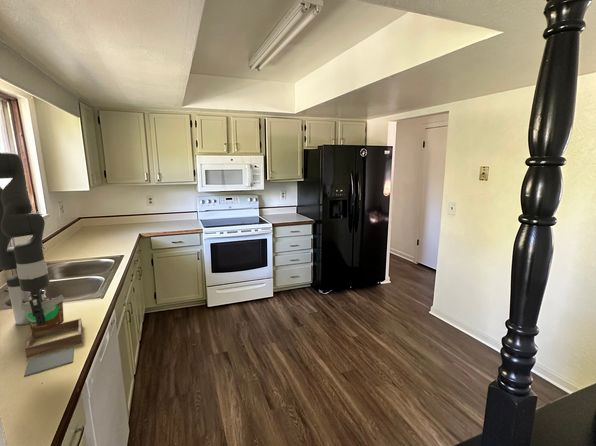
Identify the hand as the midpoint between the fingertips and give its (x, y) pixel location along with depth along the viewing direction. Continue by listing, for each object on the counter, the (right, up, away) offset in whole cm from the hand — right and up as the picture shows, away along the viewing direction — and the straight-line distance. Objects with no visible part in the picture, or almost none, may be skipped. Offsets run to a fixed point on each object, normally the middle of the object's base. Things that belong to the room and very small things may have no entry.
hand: (42, 320), depth 108 cm
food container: (+1, -3, 0) cm, 3 cm away
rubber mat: (0, -15, +3) cm, 16 cm away
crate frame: (-7, -13, +16) cm, 22 cm away
